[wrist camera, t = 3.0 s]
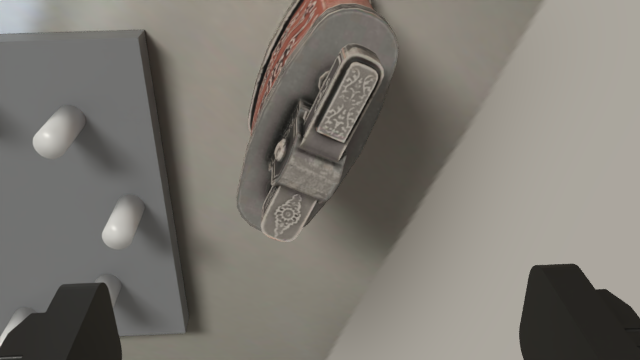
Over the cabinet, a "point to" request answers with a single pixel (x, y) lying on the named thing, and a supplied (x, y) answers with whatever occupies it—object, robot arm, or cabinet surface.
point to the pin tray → (85, 180)
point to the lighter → (312, 110)
